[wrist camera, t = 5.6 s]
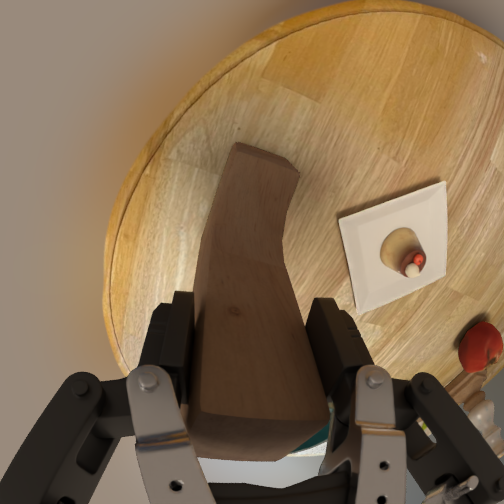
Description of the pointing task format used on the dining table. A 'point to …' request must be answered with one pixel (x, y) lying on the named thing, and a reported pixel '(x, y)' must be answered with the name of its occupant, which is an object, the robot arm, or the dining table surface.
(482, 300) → the dining table surface
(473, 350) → the tomato
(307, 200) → the dining table surface
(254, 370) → the wooden block
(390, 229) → the dessert
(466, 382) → the candle holder
